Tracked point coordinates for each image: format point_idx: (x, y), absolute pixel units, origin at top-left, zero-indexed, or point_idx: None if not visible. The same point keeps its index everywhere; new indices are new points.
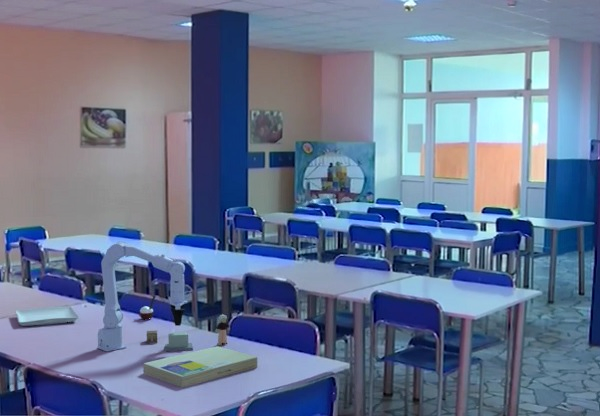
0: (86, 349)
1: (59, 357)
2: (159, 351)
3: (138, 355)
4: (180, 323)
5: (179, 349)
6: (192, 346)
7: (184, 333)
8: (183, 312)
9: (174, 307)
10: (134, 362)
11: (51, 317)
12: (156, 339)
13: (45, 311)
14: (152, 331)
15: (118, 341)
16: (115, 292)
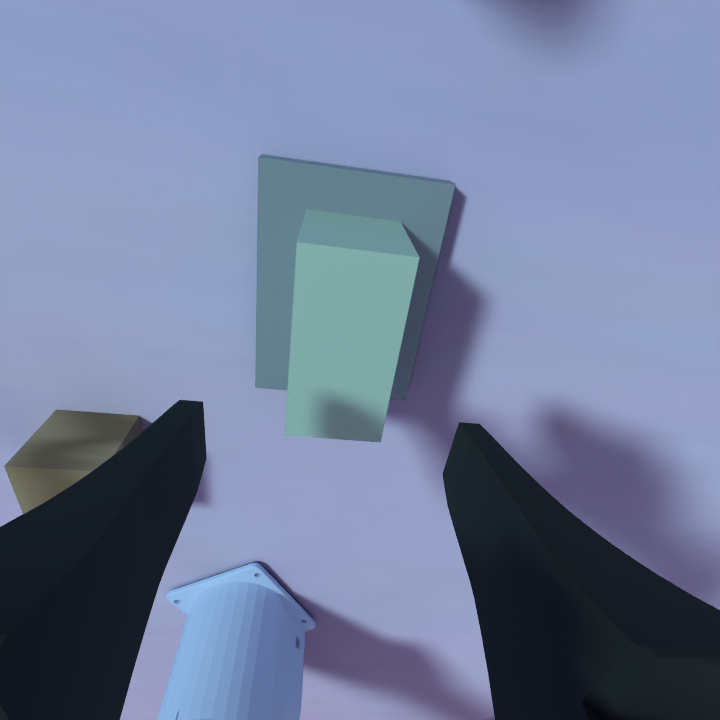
0: None
1: (354, 713)
2: (394, 423)
3: (441, 521)
4: (495, 442)
5: (425, 300)
6: (414, 179)
7: (343, 290)
8: (693, 596)
9: (104, 712)
10: None
11: None
12: (129, 437)
13: None
14: (48, 497)
15: (272, 630)
16: None
